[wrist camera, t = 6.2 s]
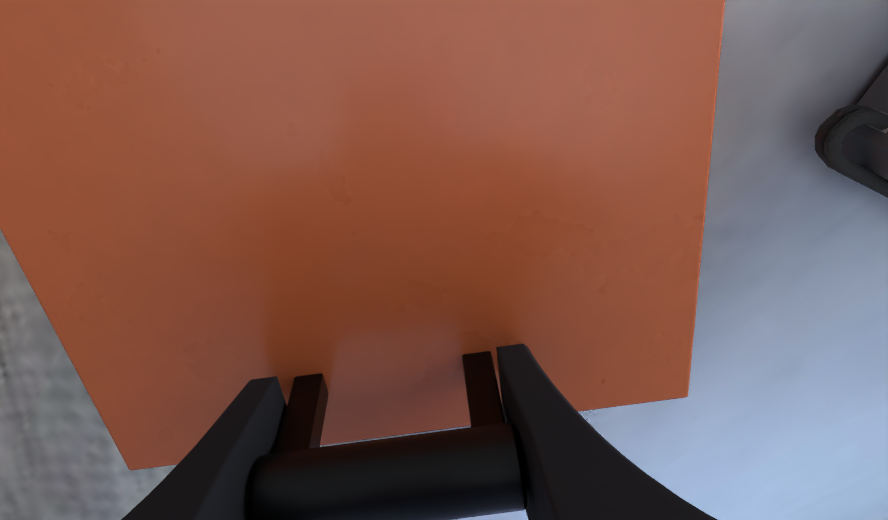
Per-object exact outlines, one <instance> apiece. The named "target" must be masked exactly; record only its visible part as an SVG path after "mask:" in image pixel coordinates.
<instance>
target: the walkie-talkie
mask: <svg viewBox="0 0 888 520" xmlns="http://www.w3.org/2000/svg"><path fill="white" fill-rule="evenodd" d="M841 146H842V148H841ZM815 150H816V152H817V154H818V156H819V157H820V158H821V159H822V160H823V161H824V163H825V164H826V165H827V166H828V167H830V168H832V169H834V170H836V171H837V172H839V173H841V174H843V175H845V176H847V177H849V178H851V179H852V180H854V181H856V182H858V183H860V184H862V185H864V186H866V187H868V188H870V189H872V190H874V191H876V192H878V193H880V194H882V195H884V196H886V197H888V65H887V66H886V67H885V68H884V70H883V71H882V72H881V74H880V75H879V76H878V78H877V79H876V80H875V81H874V83H873V84H872V85H871V87H870V88H869V89H868V91H867V92H866V93H865V94H864V96H863V97H862V98H861V100H860V101H859V102H858V104H857V105H850V106H847V107H844V108H841V109H838V110H837V111H836V112H834V113H833V114H832V115H831V116H830V117H829V118H828V119H827V120H826V121H825V122H823V123H822V124H821V125H820V127H819V129H818V131H817V133H816V135H815ZM852 161H853V162H852ZM854 162H855V163H854ZM857 164H858V165H857ZM859 165H860V166H859ZM861 166H862V167H861ZM863 167H864V168H863ZM865 168H866V169H865ZM867 169H868V170H867ZM869 170H870V171H869ZM871 171H872V172H871ZM873 172H874V173H873ZM875 173H876V174H875ZM877 174H878V175H877ZM879 175H880V176H879ZM881 176H882V177H883V178H882V177H881ZM884 178H885V179H884ZM886 179H887V180H886Z"/></svg>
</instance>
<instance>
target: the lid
mask: <svg viewBox="0 0 888 520" xmlns="http://www.w3.org/2000/svg"><path fill="white" fill-rule="evenodd" d="M724 9H725V0H0V229H1V231H2V233H3V235H4V236H5V238H6V240H7V242H8V244H9V246H10V248H11V250H12V251H13V253H14V255H15V257H16V259H17V261H18V263H19V265H20V266H21V268H22V270H23V272H24V274H25V276H26V278H27V279H28V281H29V283H30V285H31V287H32V289H33V291H34V293H35V294H36V296H37V298H38V300H39V302H40V304H41V306H42V307H43V309H44V311H45V313H46V315H47V317H48V319H49V321H50V322H51V324H52V326H53V328H54V330H55V332H56V334H57V336H58V337H59V339H60V341H61V343H62V345H63V347H64V349H65V350H66V352H67V354H68V356H69V358H70V360H71V362H72V364H73V365H74V367H75V369H76V371H77V373H78V375H79V377H80V379H81V380H82V382H83V384H84V386H85V388H86V390H87V392H88V393H89V395H90V397H91V399H92V401H93V403H94V405H95V407H96V408H97V410H98V412H99V414H100V416H101V418H102V420H103V422H104V423H105V425H106V427H107V429H108V431H109V433H110V435H111V436H112V438H113V440H114V442H115V444H116V446H117V448H118V450H119V451H120V453H121V455H122V457H123V459H124V461H125V463H126V464H127V466H128V468H129V469H130V470H138V469H145V468H153V467H160V466H168V465H175V464H179V463H180V461H181V460H182V459H183V458H184V457H185V456H186V455H187V454H188V453H189V452H190V451H191V450H192V449H193V447H194V446H195V445H196V444H197V443H198V442H199V441H200V439H201V438H202V437H203V436H204V435H205V434H206V432H207V431H208V430H209V429H210V428H211V426H212V425H213V424H214V423H215V422H216V421H217V419H218V418H219V417H220V416H221V414H222V413H223V412H224V411H225V410H226V408H227V407H228V406H229V405H230V404H231V402H232V401H233V400H234V399H235V397H236V396H237V395H238V394H239V393H240V391H241V390H242V389H243V388H244V387H245V385H246V384H247V383H248V382H249V381H250V380H251V379H259V378H266V377H274V376H277V378H278V381H279V384H280V387H281V390H282V393H283V396H284V399H285V402H286V405H287V408H286V412H285V416H284V419H283V423H282V427H281V431H280V435H279V439H278V443H277V447H276V451H275V453H273V454H266V455H263V456H262V457H260V458H259V459H258V460H257V462H256V464H255V466H254V469H253V473H252V478H251V484H250V513H251V519H252V520H452V519H459V518H467V517H475V516H483V515H490V514H498V513H506V512H513V511H521V510H524V509H526V508H527V503H528V500H527V488H526V480H525V473H524V466H523V460H522V454H521V448H520V443H519V438H518V434H517V430H516V427H515V426H514V424H513V423H510V422H508V423H505V418H504V413H503V408H502V399H501V389H500V380H499V370H498V360H497V350H496V347H500V346H508V345H515V344H525V345H526V346H527V347H528V348H529V349H530V351H531V353H532V355H533V356H534V358H535V359H536V361H537V362H538V364H539V365H540V367H541V368H542V369H543V371H544V372H545V373H546V375H547V376H548V377H549V379H550V380H551V381H552V383H553V384H554V385H555V386H556V388H557V389H558V390H559V391H560V392H561V393H562V395H563V396H564V397H565V398H566V399H567V400H568V402H569V403H570V404H571V405H572V406H573V407H574V408H575V409H576V411H577V412H578V411H585V410H593V409H601V408H608V407H616V406H623V405H631V404H639V403H646V402H654V401H661V400H669V399H677V398H684V397H687V396H688V390H689V380H690V369H691V358H692V348H693V337H694V327H695V316H696V305H697V295H698V284H699V274H700V263H701V252H702V242H703V231H704V221H705V210H706V199H707V189H708V178H709V168H710V157H711V146H712V136H713V125H714V115H715V104H716V93H717V83H718V72H719V62H720V51H721V40H722V30H723V19H724ZM464 426H471V427H470V428H463V429H455V430H448V431H440V432H432V433H425V434H417V435H410V436H402V437H394V438H387V439H379V440H372V441H364V442H356V443H349V444H341V445H334V446H326V447H320V445H327V444H335V443H343V442H350V441H358V440H365V439H373V438H380V437H388V436H396V435H403V434H411V433H418V432H426V431H434V430H441V429H449V428H456V427H464Z"/></svg>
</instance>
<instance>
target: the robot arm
mask: <svg viewBox="0 0 888 520" xmlns="http://www.w3.org/2000/svg"><path fill="white" fill-rule="evenodd" d="M496 350H497V360H498V370H499V380H500V389H501V399H502V408H503V413H504V418H505V423H508V422H510V423H513V424H514V426H515V427H516V430H517V434H518V438H519V443H520V448H521V454H522V460H523V466H524V473H525V480H526V488H527V500H528V503H527V508H526V512H527V516H528V519H529V520H717V519H715V518H713V517H711V516H710V515H708V514H706V513H704V512H703V511H701V510H699V509H698V508H696V507H695V506H693V505H691V504H690V503H688V502H686V501H685V500H683V499H682V498H680V497H679V496H677V495H676V494H674V493H673V492H672V491H670V490H669V489H667V488H666V487H665V486H663V485H662V484H660V483H659V482H657V481H656V480H655V479H653V478H652V477H650V476H649V475H647V474H646V473H645V472H643V471H642V470H641V469H640V468H638V467H637V466H636V465H635V464H633V463H632V462H631V461H630V460H628V459H627V458H626V457H625V456H624V455H622V454H621V453H620V452H619V451H618V450H617V449H615V448H614V447H613V446H612V445H611V444H610V443H609V442H608V441H606V440H605V439H604V438H603V437H602V436H601V435H600V434H599V433H598V432H597V431H596V430H595V429H594V428H593V427H592V426H591V425H590V424H589V423H588V422H587V421H586V420H585V419H584V418H583V417H582V416H581V415H580V414H579V413H578V412H577V411H576V409H575V408H574V407H573V406H572V405H571V404H570V403H569V402H568V400H567V399H566V398H565V397H564V396H563V395H562V393H561V392H560V391H559V390H558V389H557V388H556V386H555V385H554V384H553V383H552V381H551V380H550V379H549V377H548V376H547V375H546V373H545V372H544V371H543V369H542V368H541V367H540V365H539V364H538V362H537V361H536V359H535V358H534V356H533V355H532V353H531V351H530V349H529V348H528V347H527V346H526V345H525V344H515V345H508V346H500V347H496ZM286 408H287V405H286V402H285V399H284V396H283V393H282V390H281V387H280V384H279V381H278V378H277V376H274V377H266V378H259V379H251V380H250V381H249V382H248V383H247V384H246V385H245V387H244V388H243V389H242V390H241V391H240V393H239V394H238V395H237V396H236V397H235V399H234V400H233V401H232V402H231V404H230V405H229V406H228V407H227V408H226V410H225V411H224V412H223V413H222V414H221V416H220V417H219V418H218V419H217V421H216V422H215V423H214V424H213V425H212V426H211V428H210V429H209V430H208V431H207V432H206V434H205V435H204V436H203V437H202V438H201V439H200V441H199V442H198V443H197V444H196V445H195V446H194V447H193V449H192V450H191V451H190V452H189V453H188V454H187V455H186V456H185V457H184V458H183V459H182V460H181V461H180V463H179V464H178V465H177V466H176V467H175V468H174V469H173V470H172V471H171V472H170V473H169V474H168V475H167V476H166V478H165V479H164V480H163V481H162V482H161V483H160V484H159V485H158V486H157V487H156V488H155V489H154V490H153V491H152V492H151V493H150V494H149V495H148V496H146V497H145V498H144V499H143V500H142V501H141V502H140V503H139V504H138V505H137V506H136V507H135V508H134V509H132V510H131V511H130V512H129V513H128V514H127V515H126V516H125V517H124V518H123V519H121V520H252V519H251V513H250V484H251V478H252V473H253V469H254V466H255V464H256V462H257V460H258V459H259V458H260V457H262V456H263V455H266V454H273V453H275V451H276V447H277V443H278V439H279V435H280V431H281V427H282V423H283V419H284V416H285V412H286Z"/></svg>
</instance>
